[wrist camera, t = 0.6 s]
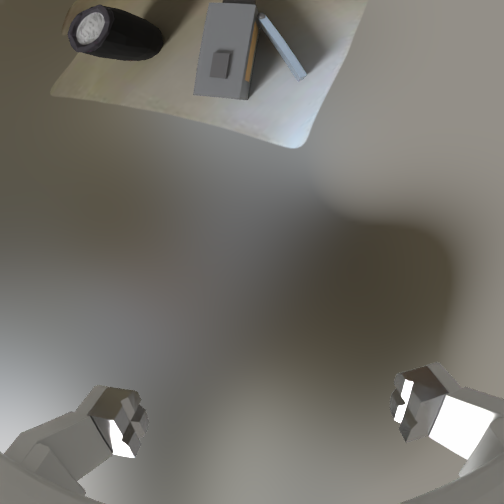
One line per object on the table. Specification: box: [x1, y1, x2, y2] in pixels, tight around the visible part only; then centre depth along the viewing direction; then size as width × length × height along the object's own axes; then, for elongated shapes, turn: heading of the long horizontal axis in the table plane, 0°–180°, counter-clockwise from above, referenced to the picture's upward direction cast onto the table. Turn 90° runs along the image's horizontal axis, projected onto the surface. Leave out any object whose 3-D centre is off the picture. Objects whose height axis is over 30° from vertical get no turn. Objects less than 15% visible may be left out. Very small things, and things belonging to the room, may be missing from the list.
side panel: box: [257, 13, 307, 81], centre depth 36 cm, size 13×1×7 cm, turn 31°
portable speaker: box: [68, 5, 163, 61], centre depth 32 cm, size 9×9×20 cm
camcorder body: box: [193, 0, 260, 100], centre depth 36 cm, size 19×7×11 cm, turn 171°
